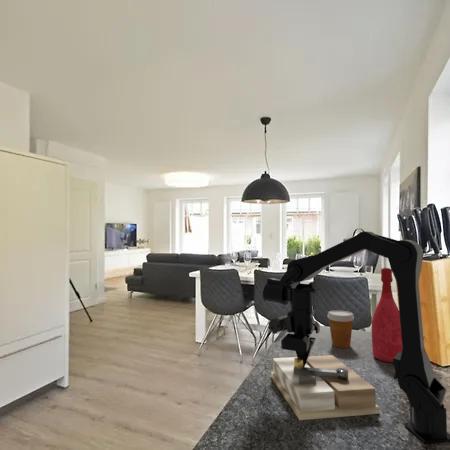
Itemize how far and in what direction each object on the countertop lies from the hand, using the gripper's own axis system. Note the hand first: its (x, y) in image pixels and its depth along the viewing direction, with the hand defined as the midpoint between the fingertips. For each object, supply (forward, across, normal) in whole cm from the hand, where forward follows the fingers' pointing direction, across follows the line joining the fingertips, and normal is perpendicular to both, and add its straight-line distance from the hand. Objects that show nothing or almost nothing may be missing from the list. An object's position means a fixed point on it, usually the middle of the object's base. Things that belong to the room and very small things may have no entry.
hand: (302, 367), depth 87 cm
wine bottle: (+7, -36, +20) cm, 42 cm away
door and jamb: (+6, -1, +4) cm, 8 cm away
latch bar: (0, +2, +5) cm, 5 cm away
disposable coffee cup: (+8, -44, +5) cm, 45 cm away
